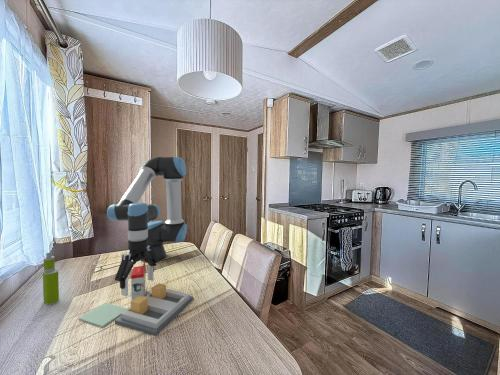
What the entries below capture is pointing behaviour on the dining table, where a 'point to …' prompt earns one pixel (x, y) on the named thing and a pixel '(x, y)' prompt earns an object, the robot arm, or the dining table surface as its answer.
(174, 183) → the robot arm
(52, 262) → the vape
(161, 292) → the tan block
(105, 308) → the rest pad
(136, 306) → the light orange block
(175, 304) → the grey divided tray
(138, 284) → the ink box
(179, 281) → the dining table surface
